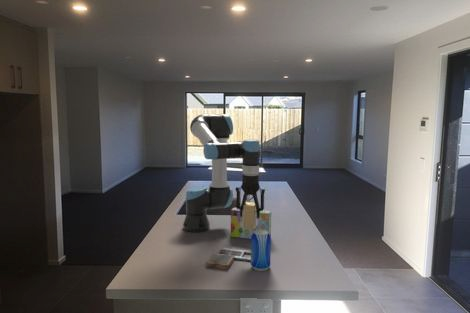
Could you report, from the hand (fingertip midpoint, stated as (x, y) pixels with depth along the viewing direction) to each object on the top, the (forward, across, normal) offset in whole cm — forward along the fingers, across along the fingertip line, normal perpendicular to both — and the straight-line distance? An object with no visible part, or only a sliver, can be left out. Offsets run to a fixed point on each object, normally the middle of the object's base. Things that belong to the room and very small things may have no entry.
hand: (249, 224), depth 161 cm
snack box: (+16, -5, +24) cm, 30 cm away
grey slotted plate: (+16, -4, 0) cm, 16 cm away
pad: (+16, -11, -10) cm, 22 cm away
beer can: (+16, +7, -9) cm, 20 cm away
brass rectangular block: (+1, 0, 0) cm, 1 cm away
